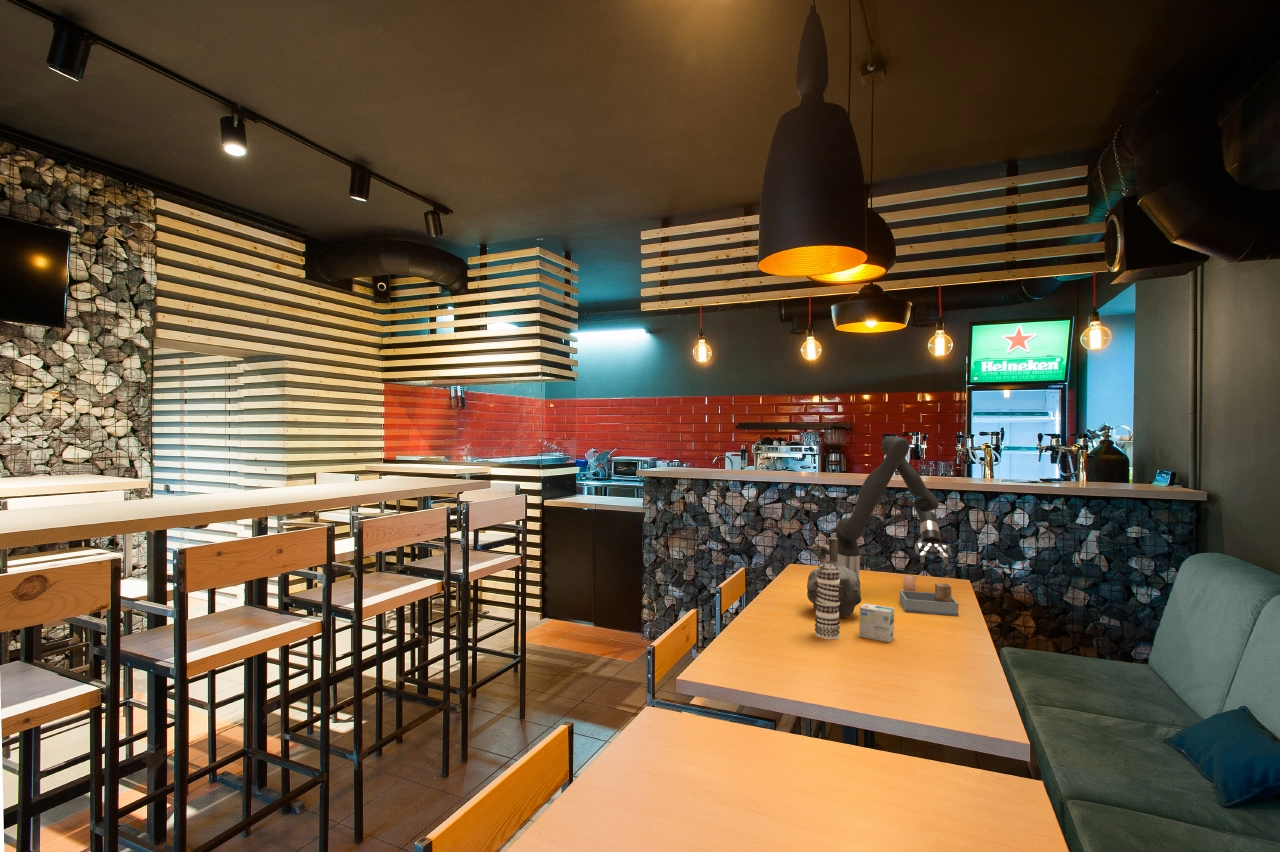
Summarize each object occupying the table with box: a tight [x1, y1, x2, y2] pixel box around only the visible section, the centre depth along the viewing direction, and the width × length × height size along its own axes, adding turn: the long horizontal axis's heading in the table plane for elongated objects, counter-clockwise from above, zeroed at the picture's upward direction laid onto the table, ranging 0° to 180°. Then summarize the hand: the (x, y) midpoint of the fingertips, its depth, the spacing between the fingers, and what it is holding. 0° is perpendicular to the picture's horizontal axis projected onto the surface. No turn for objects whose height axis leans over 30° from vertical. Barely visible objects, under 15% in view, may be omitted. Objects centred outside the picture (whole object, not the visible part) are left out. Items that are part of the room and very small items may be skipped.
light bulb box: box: [858, 602, 895, 643], centre depth 228 cm, size 11×7×11 cm, turn 58°
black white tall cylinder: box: [814, 563, 842, 640], centre depth 229 cm, size 9×9×25 cm
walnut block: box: [934, 582, 952, 603], centre depth 261 cm, size 5×5×10 cm
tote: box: [899, 590, 959, 617], centre depth 265 cm, size 20×15×5 cm
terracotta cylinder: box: [902, 574, 917, 592], centre depth 279 cm, size 5×5×10 cm
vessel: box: [806, 537, 862, 618], centre depth 257 cm, size 24×22×30 cm
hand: (934, 565), depth 272 cm, fingers open, 8 cm apart
